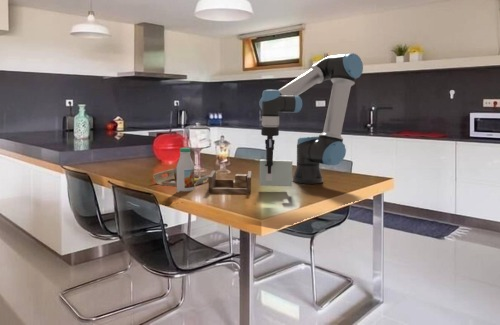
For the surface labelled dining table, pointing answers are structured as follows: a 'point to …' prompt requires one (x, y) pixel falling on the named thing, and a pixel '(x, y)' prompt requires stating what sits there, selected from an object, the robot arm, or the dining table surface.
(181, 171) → the milk bottle
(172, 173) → the toy food set
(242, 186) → the offcut
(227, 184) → the rack
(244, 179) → the offcut
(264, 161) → the sheet
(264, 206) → the dining table surface
